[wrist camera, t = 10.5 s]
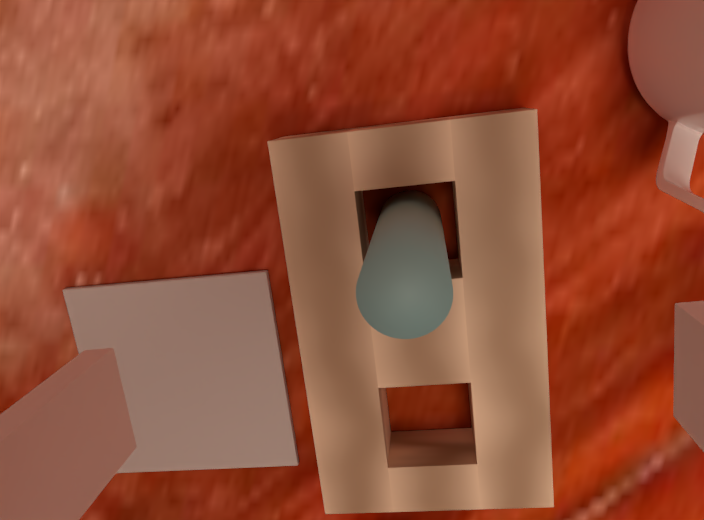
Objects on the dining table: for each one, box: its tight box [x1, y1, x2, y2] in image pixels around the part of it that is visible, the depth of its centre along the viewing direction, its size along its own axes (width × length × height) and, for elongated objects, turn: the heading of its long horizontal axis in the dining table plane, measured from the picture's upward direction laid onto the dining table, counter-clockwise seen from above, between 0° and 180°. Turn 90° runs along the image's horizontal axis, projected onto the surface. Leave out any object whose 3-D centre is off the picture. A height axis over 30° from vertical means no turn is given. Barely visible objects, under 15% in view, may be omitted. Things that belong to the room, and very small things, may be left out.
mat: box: [63, 270, 299, 473], centre depth 35 cm, size 12×12×1 cm
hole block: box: [267, 108, 554, 514], centre depth 31 cm, size 12×20×4 cm, turn 7°
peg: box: [356, 190, 453, 339], centre depth 25 cm, size 3×3×12 cm
